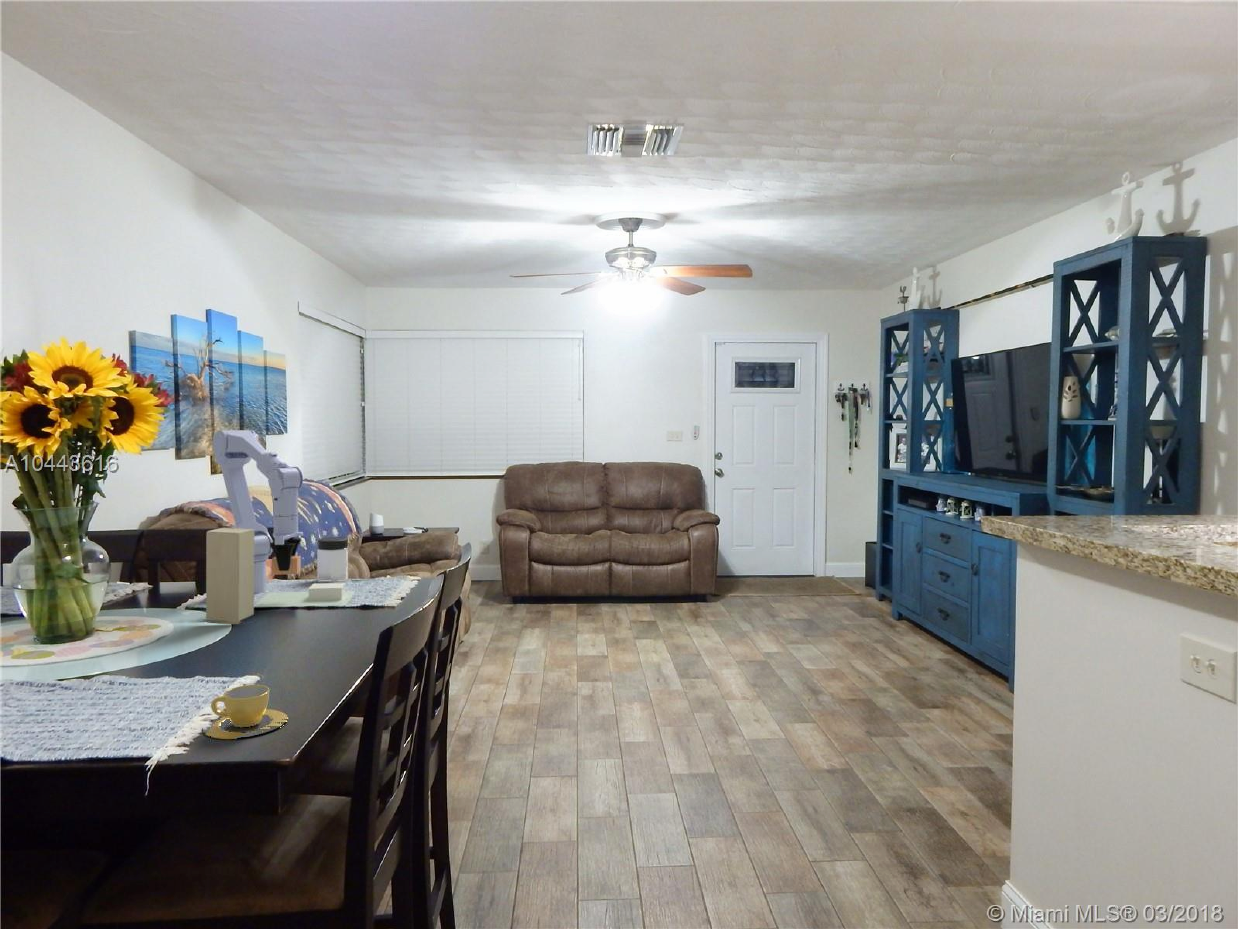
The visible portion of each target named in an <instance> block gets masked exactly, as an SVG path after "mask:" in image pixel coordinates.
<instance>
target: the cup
mask: <svg viewBox="0 0 1238 929" xmlns="http://www.w3.org/2000/svg"><path fill="white" fill-rule="evenodd" d="M270 689H271V688H269V687H268V686H266V685H262V684H247V685H246V684H245V685H239V686H236V687H233V688H230V689H227V690H225V691H224V692H223V693H222V694H223V695H222V696H217V697H215V698H213V699H212V700H211V703H210V708H211V712H212V713H213V714H214V715H216V716H217V717H219V716H223V717H222V718H220V719H221V720H218V721H216V722H217V723H216V722H215V724H213V725H212V726H213V727H212V728H210V730H209V731H207V732H209V733H206V734H204V735H205V736H208V737H210V736H211V737H210V738H214V739H221V740H237V738H236V736H243V735H242V734H241V732H242V731H238V732H237V731H231V732H228V731H229V730H227V731H224V730H222V729H221V728H220V727H219V726H221V722H224V721H225V720H226V719H230V721H231V722H230V723H231V724H232V726H234V728H237V727H249V726H253V727H255V726H257V725H259V723H260V722H261V721H262V719H263V718H262V717H263V715H268V716H269V717H270V719H273V720H272V721H270V722H271V723H270V724H269V725H266V724H265V725H266V727H263V726H262V727H263V728H261V727H259V728H260V729H270V727H267V726H281V725H282V724H281V722H287V723H288V721H287V720H284V719H288V720H289V717H287V716H288V715H287V713H285V712H282V711H280V710H278V709H277V710H276V709H270V708H268V704H269V700H270ZM219 702H221V703H223V705H224V710H222V709H220V708H219V707H218V706H217V703H219ZM282 719H283V720H282ZM275 722H276V723H275ZM277 722H280V724H279V723H277ZM256 724H257V725H256ZM254 725H255V726H254ZM249 728H250V727H249ZM250 731H251V732H254V731H252V730H248V731H246V732H250ZM210 732H211V733H210ZM213 732H214V733H213ZM255 732H256V731H255ZM262 732H263V731H262ZM244 736H246V734H245V735H244Z"/></svg>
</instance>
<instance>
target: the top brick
mask: <svg viewBox="0 0 1238 929" xmlns="http://www.w3.org/2000/svg"><path fill="white" fill-rule="evenodd" d="M301 562H302V558H301V555H295V556H291V561H290V567H289V570H288V571H279V568H278V563H277V559H276V556H273V557H272V558H271V575H273V576H274V575H275V576H276V575H280V576H281V575H298V574H299V573H301V572H302V571H301V570H302V569H301V568H302V565H301Z"/></svg>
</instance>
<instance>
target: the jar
mask: <svg viewBox="0 0 1238 929" xmlns="http://www.w3.org/2000/svg"><path fill="white" fill-rule="evenodd" d="M348 541H349V540H348V538H347V537H343V536H342V537H341V536H332V537H331V536H330V537H328V536H327V537H321V538H318V539H317V550H316V551H317V552H316V555H317V562H316V564H317V566H316V568H317V571H316V573H317V575H316V576H317V577H316V578H317V579H316V580H346V581H347V580H348V579H349V550H348V549H349V546H348V545H349V542H348ZM346 581H317V583H345V582H346Z"/></svg>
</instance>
